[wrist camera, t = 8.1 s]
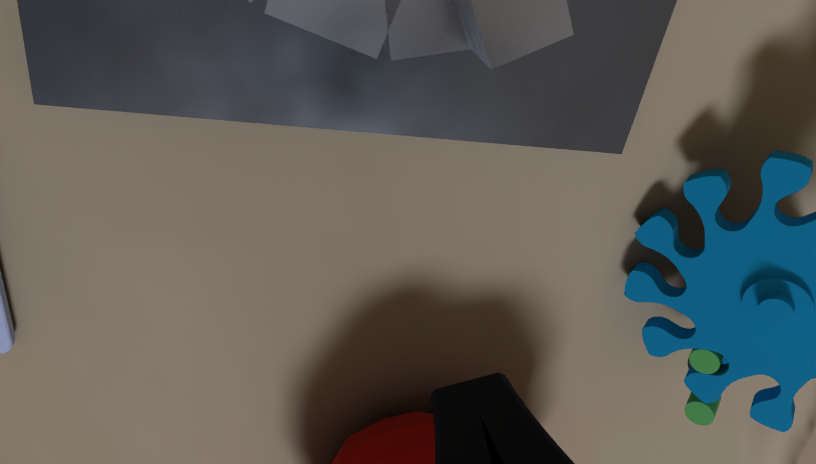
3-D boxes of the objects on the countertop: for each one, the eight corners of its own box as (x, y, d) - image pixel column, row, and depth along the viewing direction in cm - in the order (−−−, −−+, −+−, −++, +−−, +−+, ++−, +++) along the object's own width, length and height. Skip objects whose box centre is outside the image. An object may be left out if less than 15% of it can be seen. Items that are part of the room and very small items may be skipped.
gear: (716, 103, 18) (1104, 292, 15) (748, 73, 22) (1053, 213, 19) (562, 343, 25) (806, 514, 21) (610, 283, 29) (818, 416, 25)
